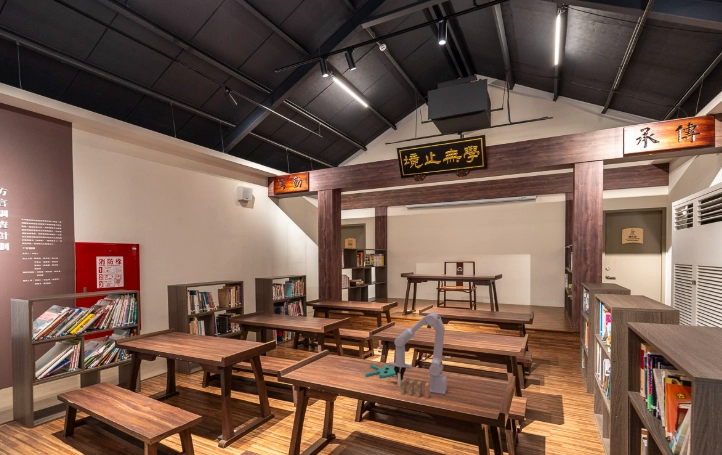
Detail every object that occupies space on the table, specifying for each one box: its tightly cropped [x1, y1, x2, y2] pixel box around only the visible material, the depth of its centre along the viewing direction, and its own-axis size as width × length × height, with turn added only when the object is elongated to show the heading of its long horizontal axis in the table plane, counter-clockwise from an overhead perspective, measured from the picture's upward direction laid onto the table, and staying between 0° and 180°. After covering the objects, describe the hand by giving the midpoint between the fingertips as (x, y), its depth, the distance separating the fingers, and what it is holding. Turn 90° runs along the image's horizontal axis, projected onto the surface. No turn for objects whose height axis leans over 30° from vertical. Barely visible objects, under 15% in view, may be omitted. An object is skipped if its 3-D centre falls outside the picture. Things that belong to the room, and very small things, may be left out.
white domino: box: [397, 371, 402, 387], centre depth 216 cm, size 2×5×7 cm, turn 158°
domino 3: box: [416, 380, 423, 398], centre depth 200 cm, size 2×5×7 cm, turn 158°
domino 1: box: [400, 378, 407, 396], centre depth 203 cm, size 2×5×7 cm, turn 158°
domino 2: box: [408, 379, 415, 397], centre depth 201 cm, size 2×5×7 cm, turn 158°
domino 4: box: [424, 381, 431, 400], centre depth 198 cm, size 2×5×7 cm, turn 158°
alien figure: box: [365, 364, 397, 379], centre depth 236 cm, size 20×2×20 cm
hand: (400, 379), depth 216 cm, fingers closed on white domino, 1 cm apart
